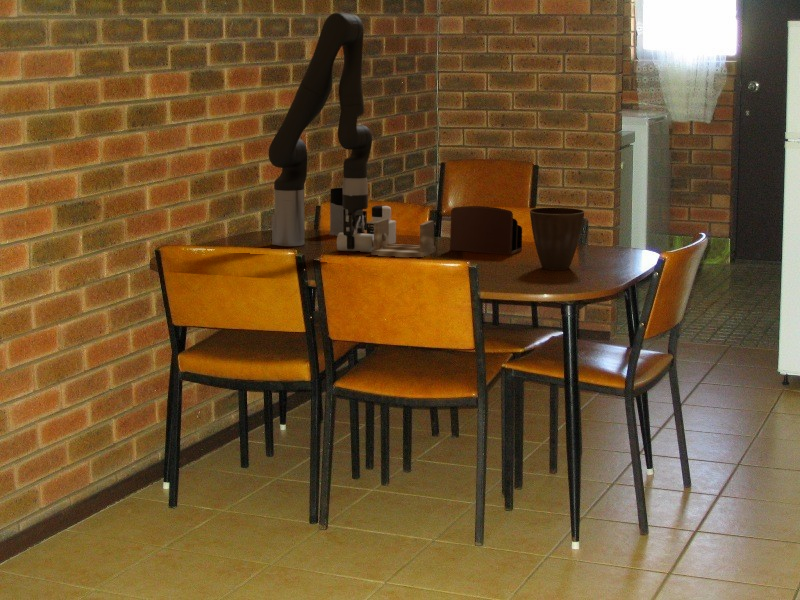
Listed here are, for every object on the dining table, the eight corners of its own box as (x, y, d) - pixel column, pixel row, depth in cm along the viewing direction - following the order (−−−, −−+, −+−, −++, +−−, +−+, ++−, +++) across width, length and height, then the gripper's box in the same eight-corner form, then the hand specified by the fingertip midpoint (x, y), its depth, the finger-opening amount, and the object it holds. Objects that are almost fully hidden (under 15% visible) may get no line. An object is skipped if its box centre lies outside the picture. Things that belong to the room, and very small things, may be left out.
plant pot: (581, 273, 326) (583, 214, 323) (526, 271, 328) (527, 213, 325) (583, 264, 340) (585, 208, 337) (530, 263, 343) (531, 206, 340)
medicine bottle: (366, 244, 378) (366, 206, 376) (375, 241, 384) (375, 204, 382) (387, 246, 375) (387, 207, 373) (396, 243, 382) (396, 205, 379)
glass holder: (344, 231, 408) (344, 187, 405) (370, 236, 397) (370, 190, 394) (323, 233, 402) (323, 188, 400) (349, 238, 392) (349, 192, 389)
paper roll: (335, 249, 363) (337, 231, 363) (341, 251, 368) (343, 234, 368) (369, 250, 359) (371, 232, 360) (375, 253, 365) (377, 235, 365)
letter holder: (511, 255, 358) (512, 208, 355) (449, 251, 366) (449, 204, 363) (522, 251, 367) (523, 205, 364) (461, 247, 375) (462, 201, 372)
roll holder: (371, 255, 356) (371, 223, 354) (386, 248, 369) (387, 217, 367) (421, 258, 351) (421, 225, 349) (435, 251, 364) (435, 220, 362)
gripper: (351, 190, 368) (352, 243, 371) (334, 194, 355) (335, 250, 358) (375, 191, 366) (375, 244, 369) (358, 195, 352) (358, 251, 355)
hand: (355, 247), depth 363 cm, fingers open, 7 cm apart
